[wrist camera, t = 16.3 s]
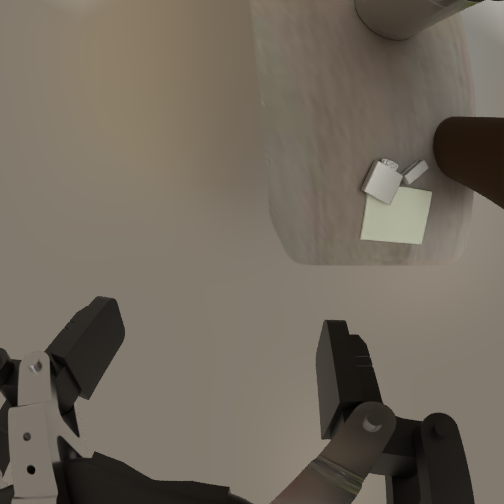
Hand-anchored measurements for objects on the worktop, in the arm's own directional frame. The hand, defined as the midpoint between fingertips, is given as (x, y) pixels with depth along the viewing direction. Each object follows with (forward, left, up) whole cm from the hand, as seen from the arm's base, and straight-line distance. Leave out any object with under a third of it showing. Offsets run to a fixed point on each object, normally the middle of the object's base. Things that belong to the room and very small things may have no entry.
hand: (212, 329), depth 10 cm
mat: (+3, +19, -28) cm, 34 cm away
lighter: (+1, +16, -26) cm, 31 cm away
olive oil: (-8, +28, -28) cm, 41 cm away
